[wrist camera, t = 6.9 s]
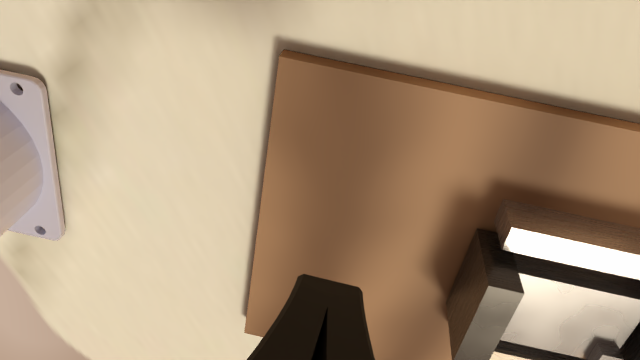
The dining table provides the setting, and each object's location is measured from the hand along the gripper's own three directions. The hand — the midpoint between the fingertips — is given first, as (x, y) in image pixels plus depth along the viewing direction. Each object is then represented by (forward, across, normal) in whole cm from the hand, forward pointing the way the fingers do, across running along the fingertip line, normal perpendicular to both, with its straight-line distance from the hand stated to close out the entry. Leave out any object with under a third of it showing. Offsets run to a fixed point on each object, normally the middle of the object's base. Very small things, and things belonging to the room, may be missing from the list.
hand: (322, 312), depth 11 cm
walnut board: (+10, -6, +4) cm, 12 cm away
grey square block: (+8, -9, +5) cm, 13 cm away
